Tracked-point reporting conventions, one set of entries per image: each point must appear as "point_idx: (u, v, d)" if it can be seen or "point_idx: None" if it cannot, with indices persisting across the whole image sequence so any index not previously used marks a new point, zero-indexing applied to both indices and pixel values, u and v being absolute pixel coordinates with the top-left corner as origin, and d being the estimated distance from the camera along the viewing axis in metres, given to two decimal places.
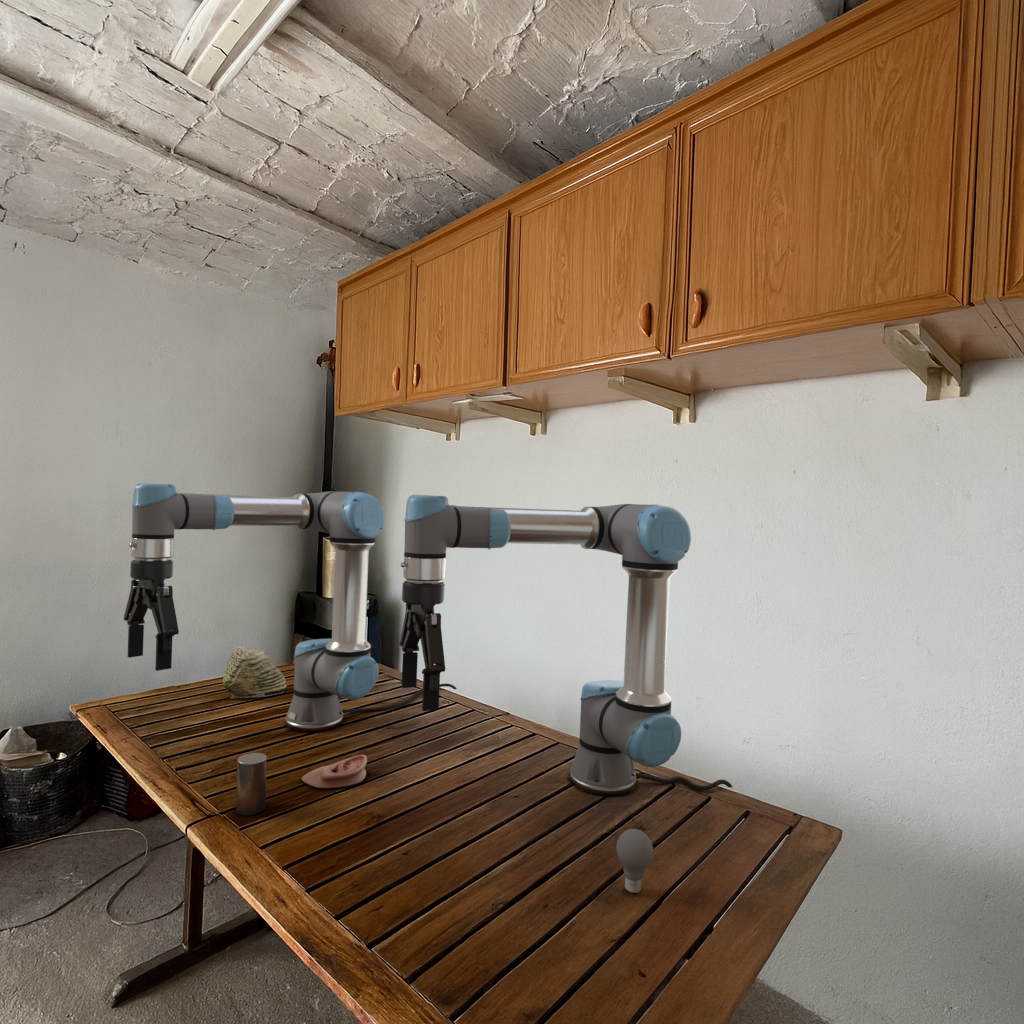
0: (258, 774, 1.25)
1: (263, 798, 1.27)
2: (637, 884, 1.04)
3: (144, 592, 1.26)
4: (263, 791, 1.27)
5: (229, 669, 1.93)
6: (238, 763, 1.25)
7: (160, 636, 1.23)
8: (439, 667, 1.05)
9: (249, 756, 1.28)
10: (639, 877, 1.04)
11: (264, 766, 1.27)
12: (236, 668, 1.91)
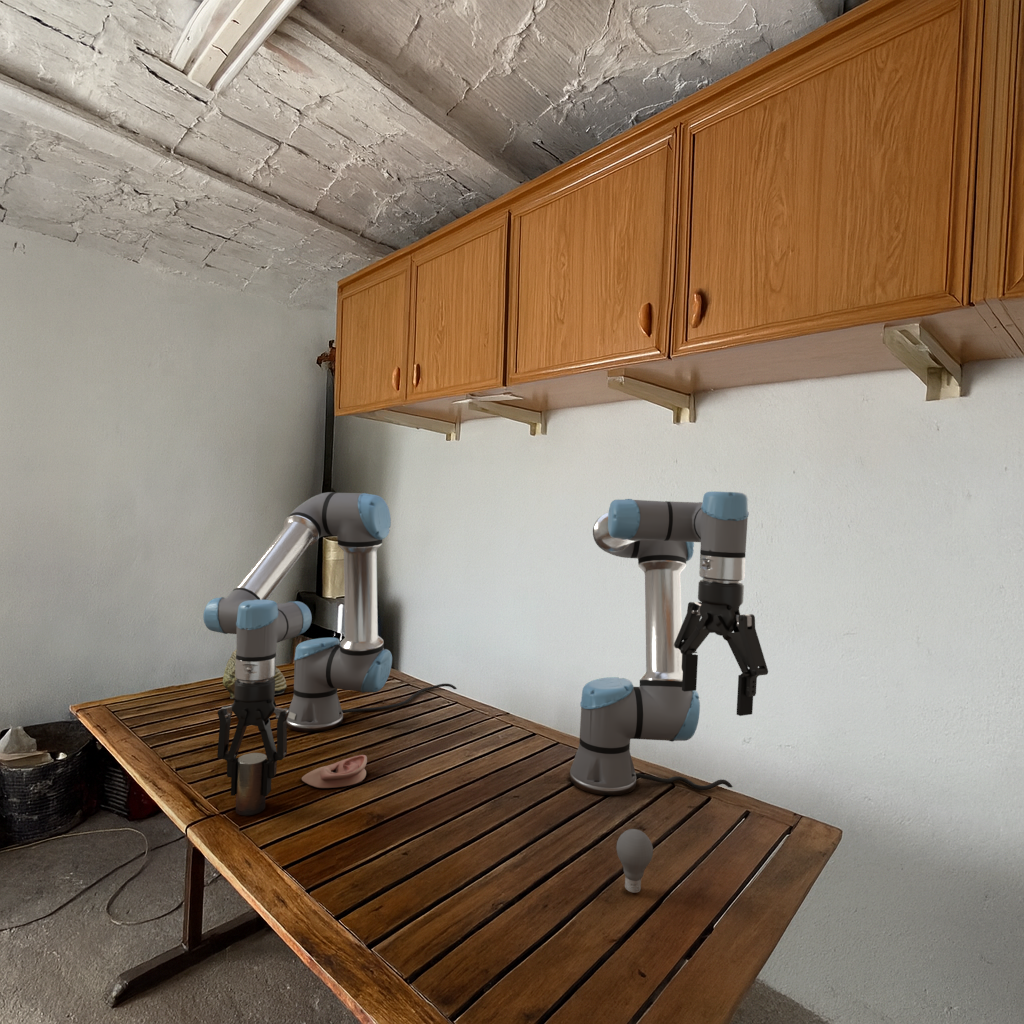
0: (258, 774, 1.25)
1: (263, 798, 1.27)
2: (637, 884, 1.04)
3: (259, 713, 1.25)
4: None
5: (229, 669, 1.93)
6: (238, 763, 1.25)
7: (272, 762, 1.26)
8: (763, 670, 1.01)
9: (249, 756, 1.28)
10: (639, 877, 1.04)
11: None
12: None
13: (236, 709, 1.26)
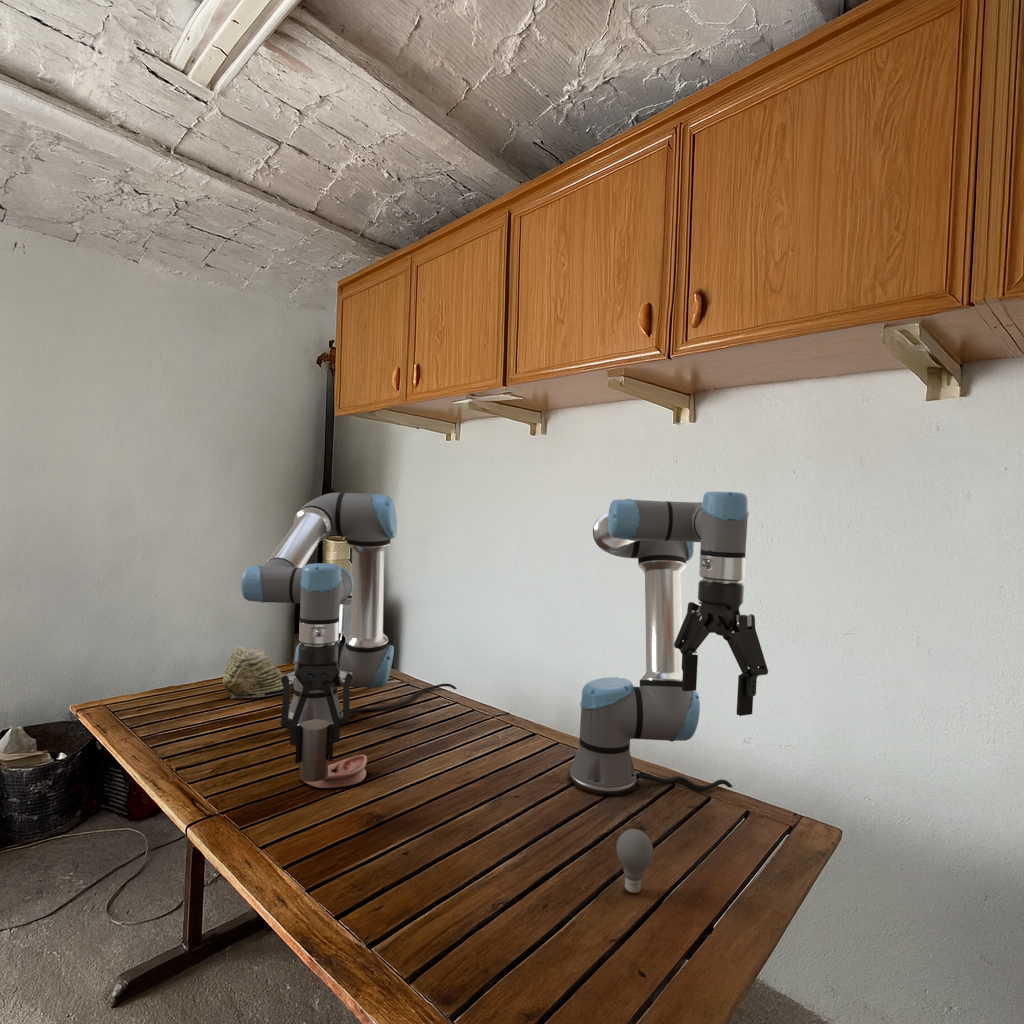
0: (325, 739, 1.24)
1: (327, 763, 1.25)
2: (637, 884, 1.04)
3: (326, 677, 1.23)
4: (328, 756, 1.25)
5: (229, 669, 1.93)
6: (304, 729, 1.23)
7: None
8: (763, 670, 1.01)
9: (312, 723, 1.25)
10: (639, 877, 1.04)
11: (329, 731, 1.25)
12: (236, 668, 1.91)
13: (300, 675, 1.23)
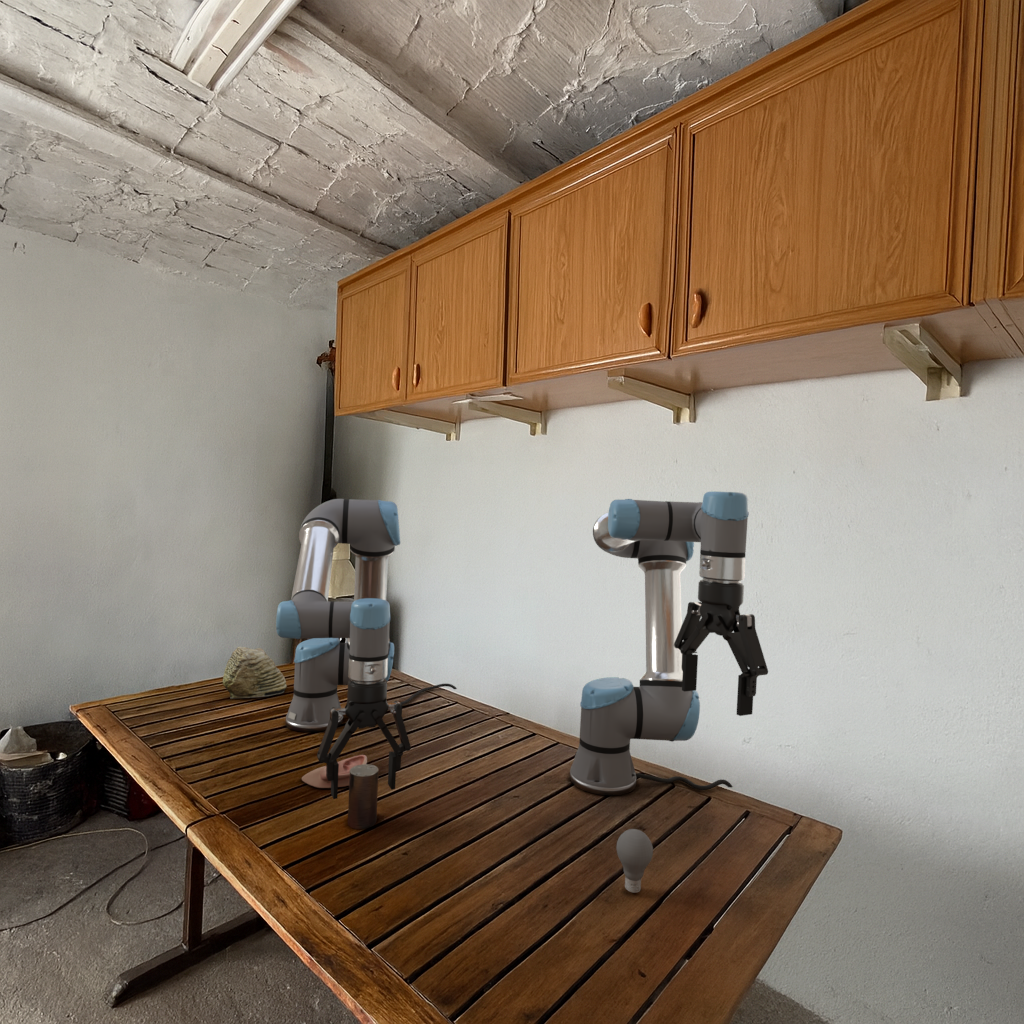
0: (376, 784, 1.23)
1: None
2: (637, 884, 1.04)
3: (377, 714, 1.23)
4: None
5: (229, 669, 1.93)
6: (355, 777, 1.22)
7: None
8: (763, 670, 1.01)
9: (360, 769, 1.24)
10: (639, 877, 1.04)
11: None
12: (236, 668, 1.91)
13: (351, 713, 1.21)
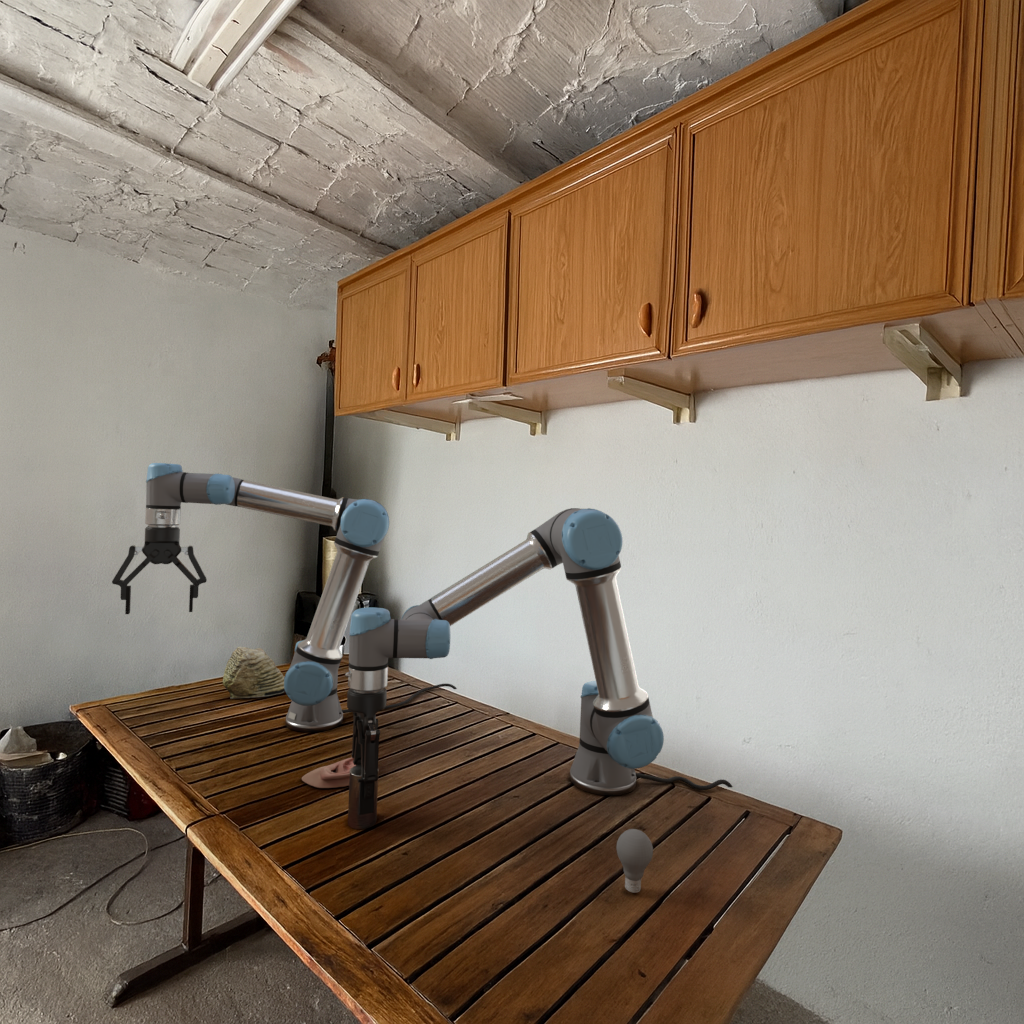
0: (376, 784, 1.23)
1: None
2: (637, 884, 1.04)
3: (169, 553, 1.55)
4: None
5: (229, 669, 1.93)
6: (355, 777, 1.22)
7: (198, 584, 1.58)
8: (372, 779, 1.18)
9: (360, 769, 1.24)
10: (639, 877, 1.04)
11: None
12: (236, 668, 1.91)
13: (146, 550, 1.53)
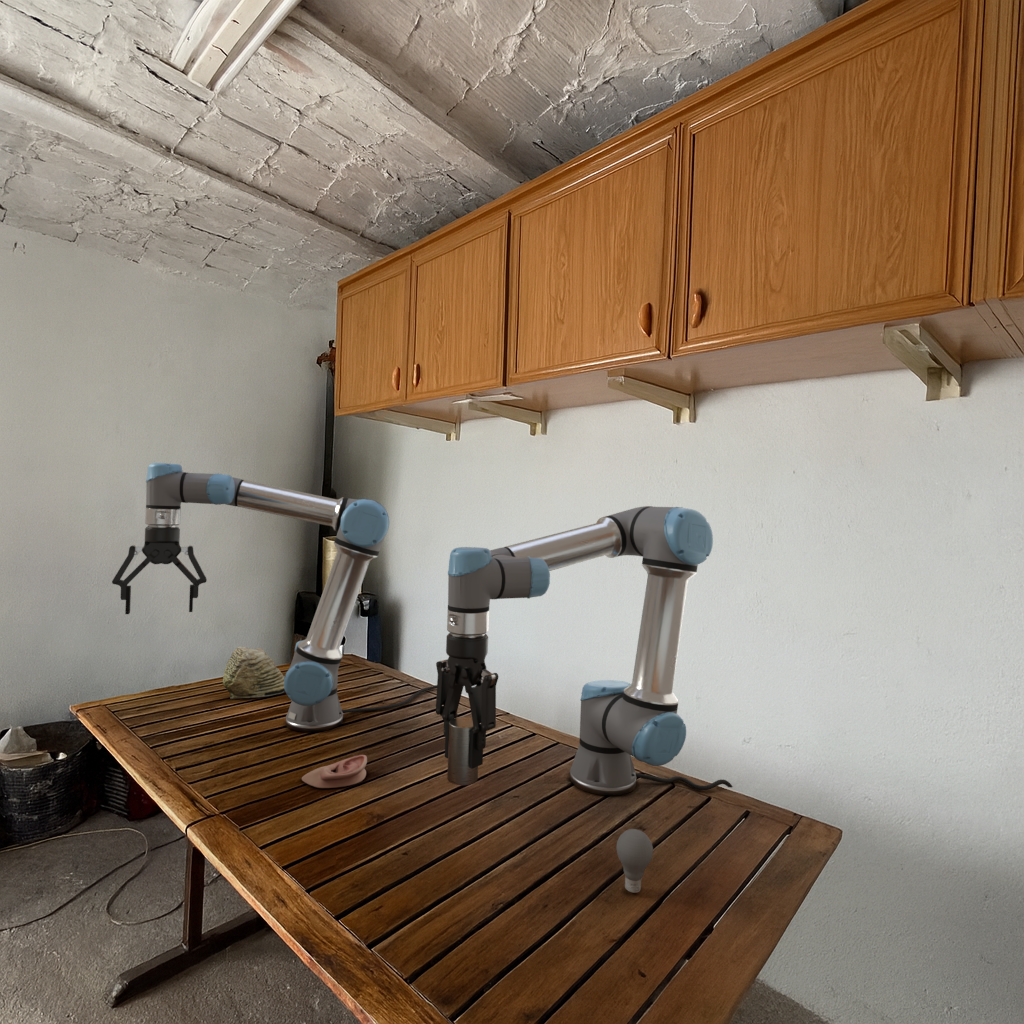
0: None
1: None
2: (637, 884, 1.04)
3: (169, 553, 1.55)
4: None
5: (229, 669, 1.93)
6: (463, 729, 1.12)
7: (198, 584, 1.58)
8: (491, 726, 1.11)
9: (459, 722, 1.14)
10: (639, 877, 1.04)
11: None
12: (236, 668, 1.91)
13: (146, 550, 1.53)
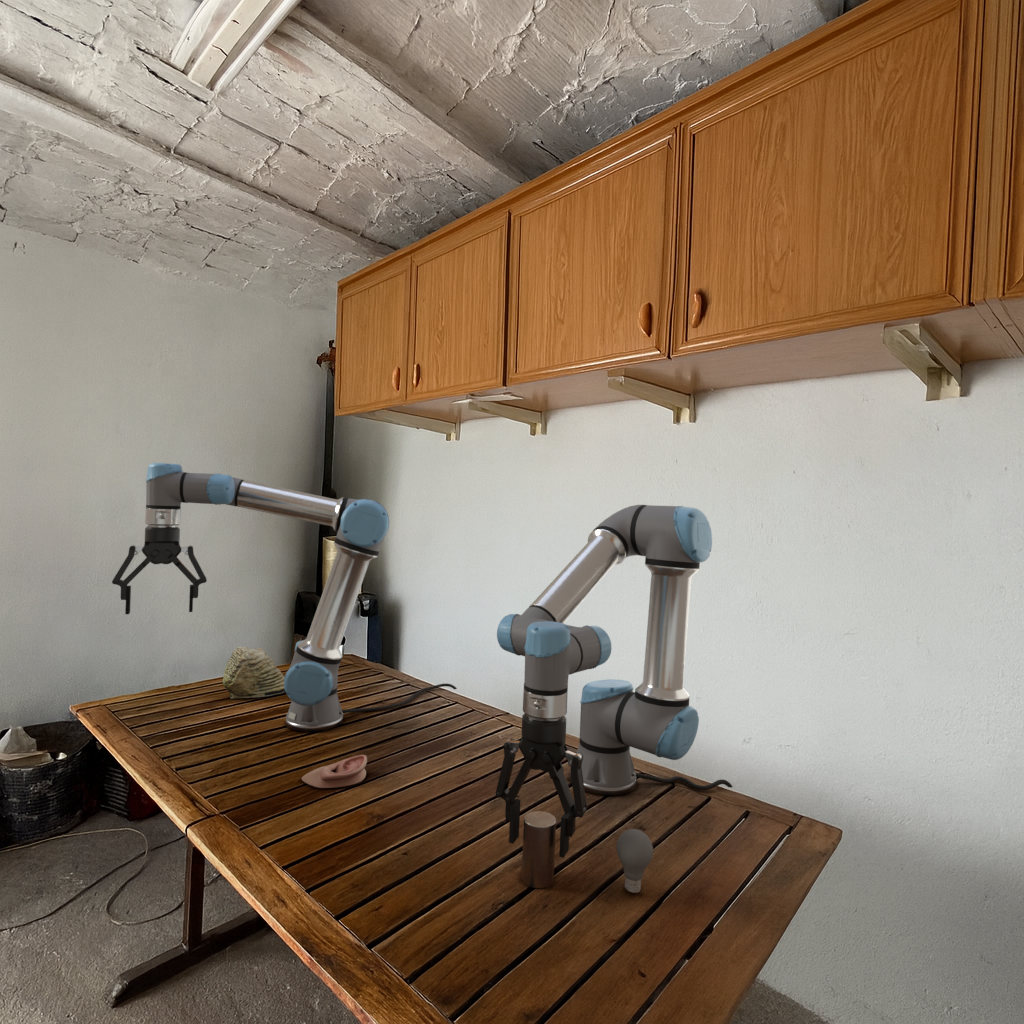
0: None
1: None
2: (637, 884, 1.04)
3: (169, 553, 1.55)
4: None
5: (229, 669, 1.93)
6: (546, 829, 1.05)
7: (198, 584, 1.58)
8: (585, 810, 1.05)
9: (535, 819, 1.08)
10: (639, 877, 1.04)
11: None
12: (236, 668, 1.91)
13: (146, 550, 1.53)
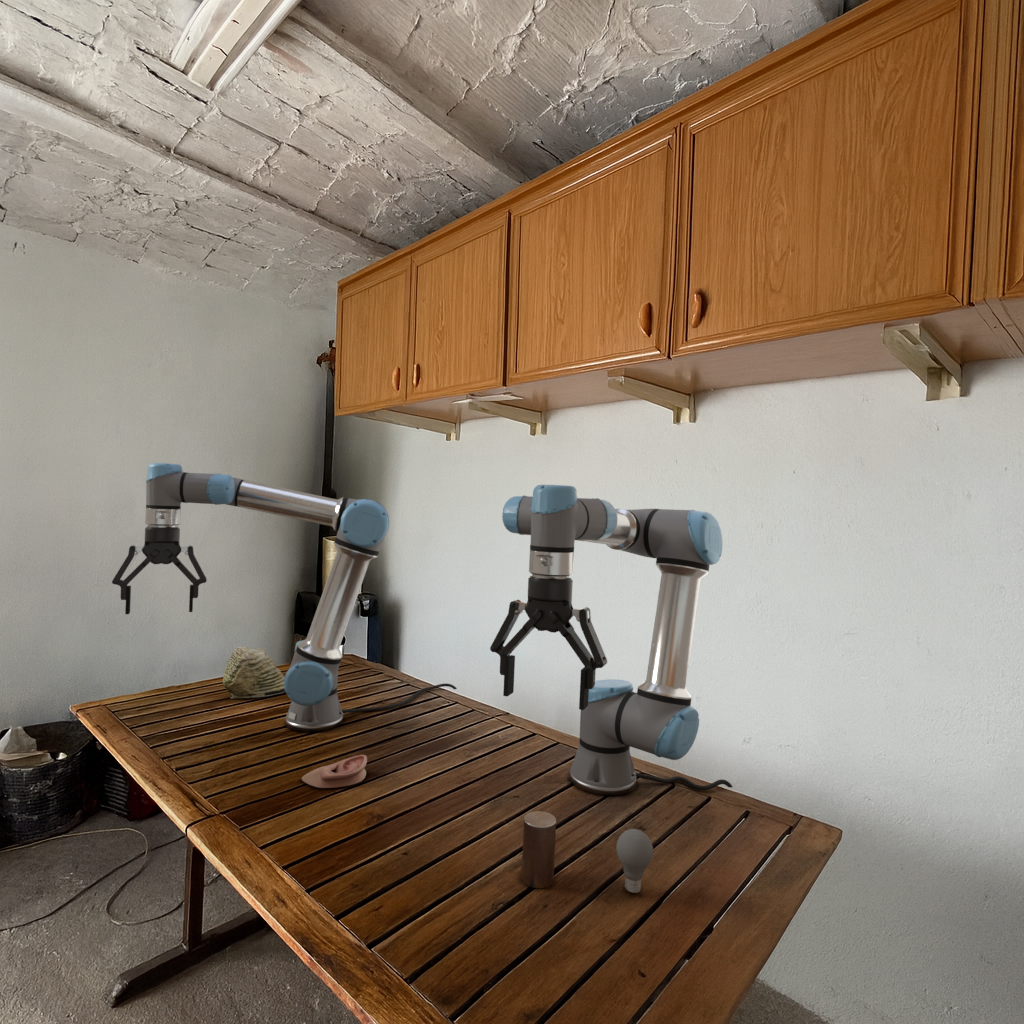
0: None
1: None
2: (637, 884, 1.04)
3: (169, 553, 1.55)
4: None
5: (229, 669, 1.93)
6: (546, 829, 1.05)
7: (198, 584, 1.58)
8: (605, 661, 1.04)
9: (535, 819, 1.08)
10: (639, 877, 1.04)
11: None
12: (236, 668, 1.91)
13: (146, 550, 1.53)
